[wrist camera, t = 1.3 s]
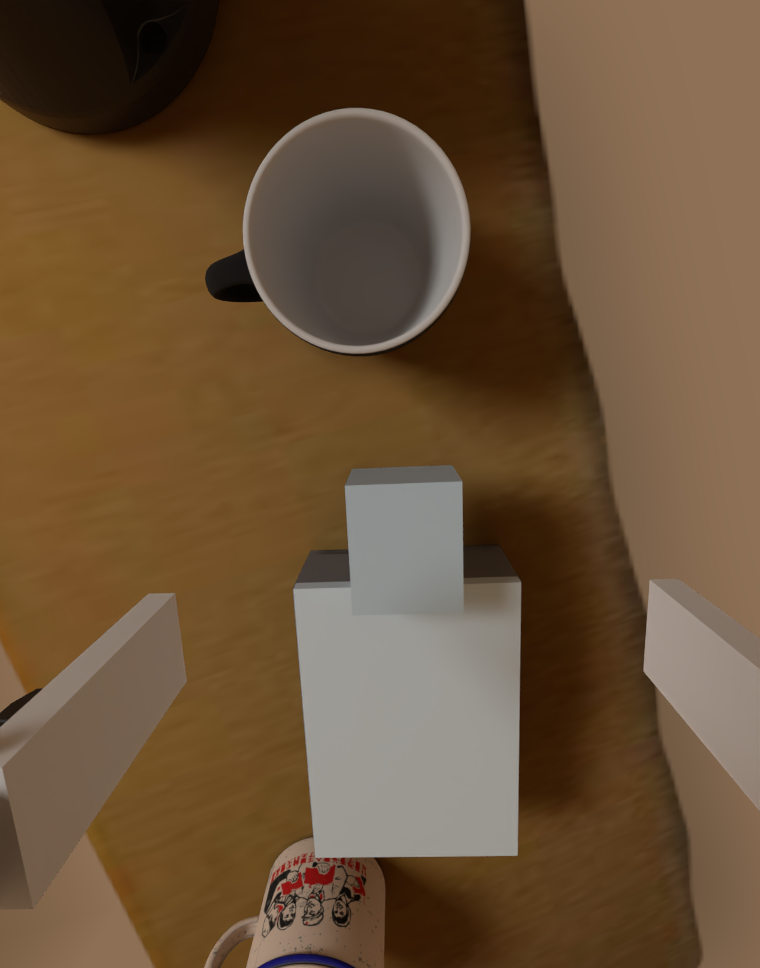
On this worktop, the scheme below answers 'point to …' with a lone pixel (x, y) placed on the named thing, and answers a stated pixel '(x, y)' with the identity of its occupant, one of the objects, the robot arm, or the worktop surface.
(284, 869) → the teacup with lid
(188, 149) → the worktop surface
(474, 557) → the tub
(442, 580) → the lid
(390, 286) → the mug
